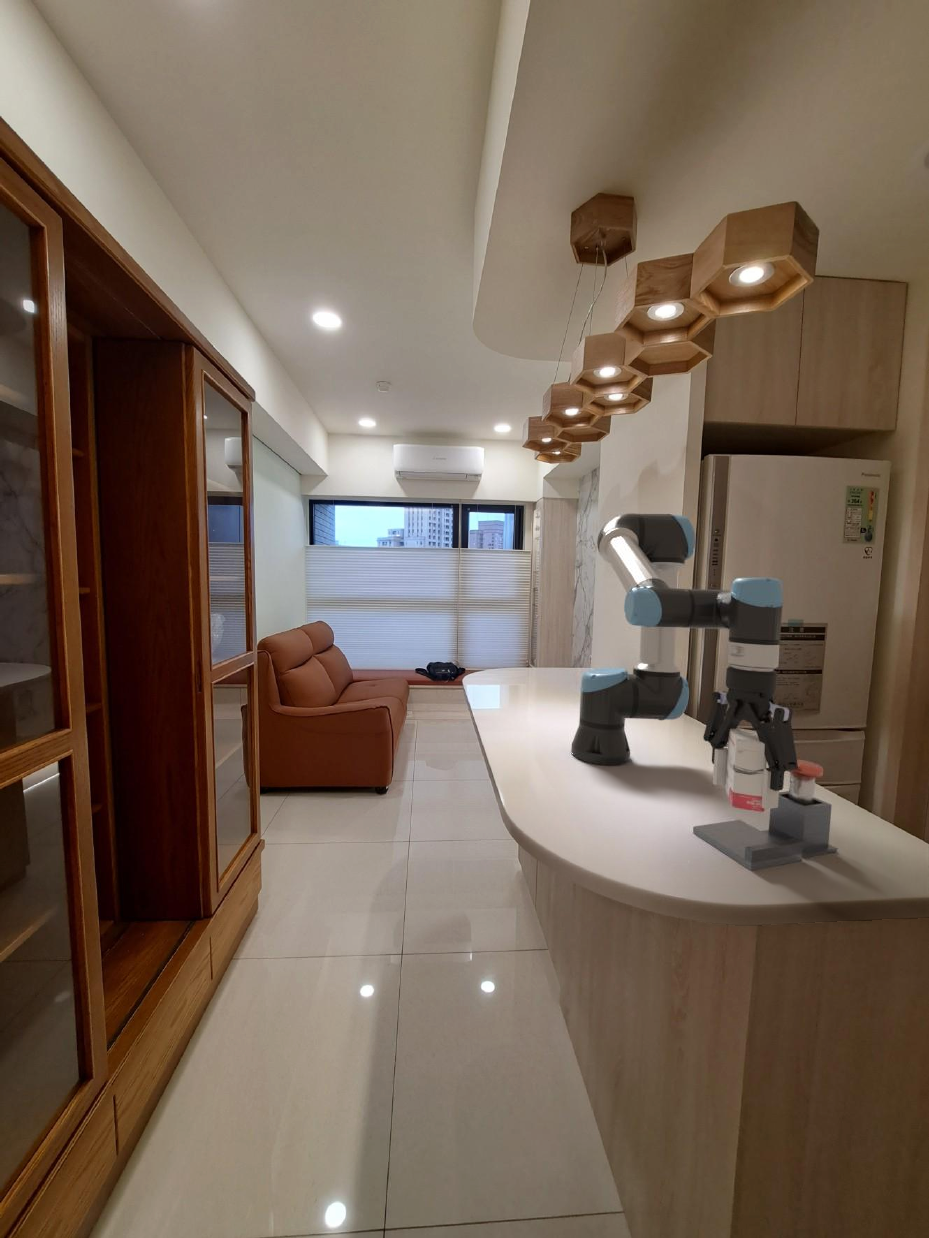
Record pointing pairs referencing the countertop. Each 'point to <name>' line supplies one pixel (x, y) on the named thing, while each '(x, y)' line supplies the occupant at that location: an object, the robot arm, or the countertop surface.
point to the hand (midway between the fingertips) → (743, 794)
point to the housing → (802, 824)
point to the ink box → (745, 769)
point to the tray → (750, 844)
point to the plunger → (804, 782)
